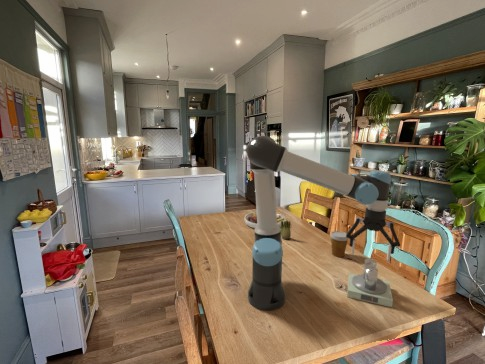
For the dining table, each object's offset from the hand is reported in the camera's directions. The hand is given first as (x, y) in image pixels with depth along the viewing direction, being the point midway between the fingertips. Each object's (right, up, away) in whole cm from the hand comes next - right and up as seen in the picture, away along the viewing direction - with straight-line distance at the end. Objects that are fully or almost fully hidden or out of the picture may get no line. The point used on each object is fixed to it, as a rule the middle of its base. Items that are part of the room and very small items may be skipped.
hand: (369, 256), depth 109 cm
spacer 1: (0, -10, +2) cm, 10 cm away
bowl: (-38, +1, +81) cm, 89 cm away
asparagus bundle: (-27, -4, +54) cm, 61 cm away
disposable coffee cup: (-2, -8, +32) cm, 34 cm away
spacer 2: (-2, -11, -4) cm, 12 cm away
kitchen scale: (-1, -15, -1) cm, 15 cm away
